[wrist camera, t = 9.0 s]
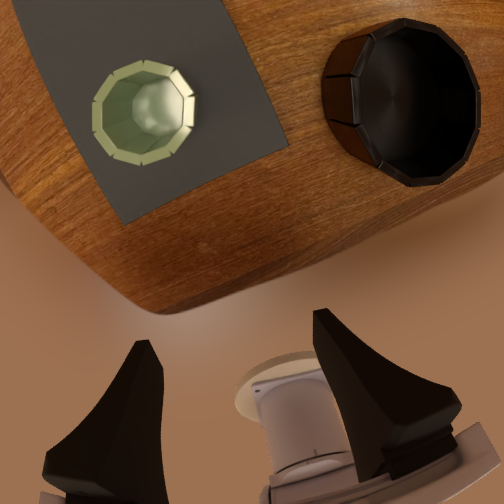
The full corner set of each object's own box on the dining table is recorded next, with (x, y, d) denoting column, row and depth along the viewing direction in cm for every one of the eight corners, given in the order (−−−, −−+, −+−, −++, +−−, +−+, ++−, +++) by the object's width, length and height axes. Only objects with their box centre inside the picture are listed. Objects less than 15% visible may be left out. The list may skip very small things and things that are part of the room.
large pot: (439, 163, 20) (476, 181, 17) (326, 173, 20) (355, 194, 16) (436, 40, 15) (476, 38, 11) (312, 23, 15) (341, 7, 11)
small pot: (208, 129, 17) (209, 144, 12) (137, 152, 17) (109, 179, 12) (189, 62, 15) (180, 46, 10) (117, 87, 15) (78, 87, 10)
